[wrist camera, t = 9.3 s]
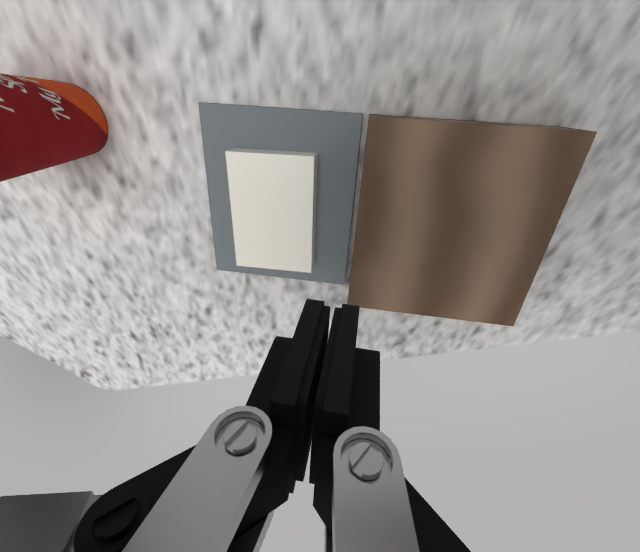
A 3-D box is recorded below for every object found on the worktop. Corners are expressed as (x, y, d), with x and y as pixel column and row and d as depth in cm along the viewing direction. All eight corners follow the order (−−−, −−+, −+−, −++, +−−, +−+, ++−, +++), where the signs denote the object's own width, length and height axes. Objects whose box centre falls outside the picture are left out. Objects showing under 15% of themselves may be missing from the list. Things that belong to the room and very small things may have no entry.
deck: (563, 127, 24) (596, 132, 20) (497, 300, 31) (513, 326, 27) (369, 113, 25) (369, 116, 21) (349, 283, 32) (347, 305, 29)
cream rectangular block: (225, 151, 25) (234, 147, 27) (236, 265, 30) (243, 256, 32) (314, 156, 25) (317, 152, 26) (311, 272, 29) (314, 263, 31)
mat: (362, 113, 25) (362, 113, 25) (344, 282, 32) (344, 284, 32) (200, 102, 26) (198, 102, 26) (218, 267, 33) (217, 269, 33)
